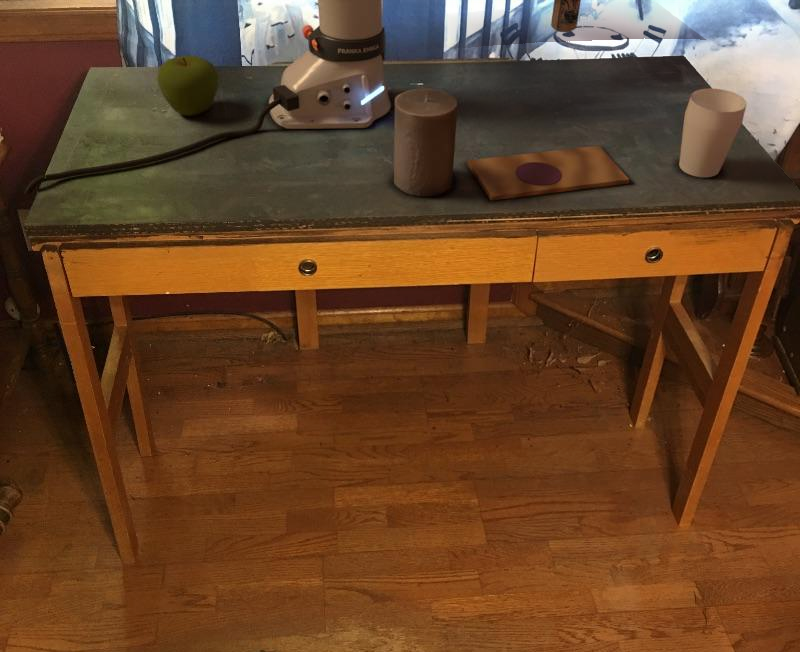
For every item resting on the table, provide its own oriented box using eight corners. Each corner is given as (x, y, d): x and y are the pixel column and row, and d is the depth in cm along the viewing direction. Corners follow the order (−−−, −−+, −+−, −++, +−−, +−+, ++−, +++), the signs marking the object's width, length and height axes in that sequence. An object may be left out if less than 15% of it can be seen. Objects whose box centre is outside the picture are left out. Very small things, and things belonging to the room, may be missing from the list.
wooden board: (490, 200, 136) (491, 195, 136) (467, 164, 145) (467, 159, 144) (628, 183, 141) (629, 178, 140) (598, 149, 149) (599, 144, 149)
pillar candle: (456, 171, 143) (463, 83, 132) (446, 201, 136) (452, 110, 126) (399, 164, 144) (401, 76, 134) (387, 193, 137) (388, 103, 127)
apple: (196, 130, 152) (187, 75, 145) (150, 116, 155) (140, 61, 148) (234, 107, 159) (227, 53, 152) (189, 94, 162) (181, 41, 155)
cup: (728, 184, 141) (750, 115, 133) (672, 178, 143) (690, 109, 134) (724, 158, 148) (745, 91, 140) (671, 152, 149) (688, 85, 141)
